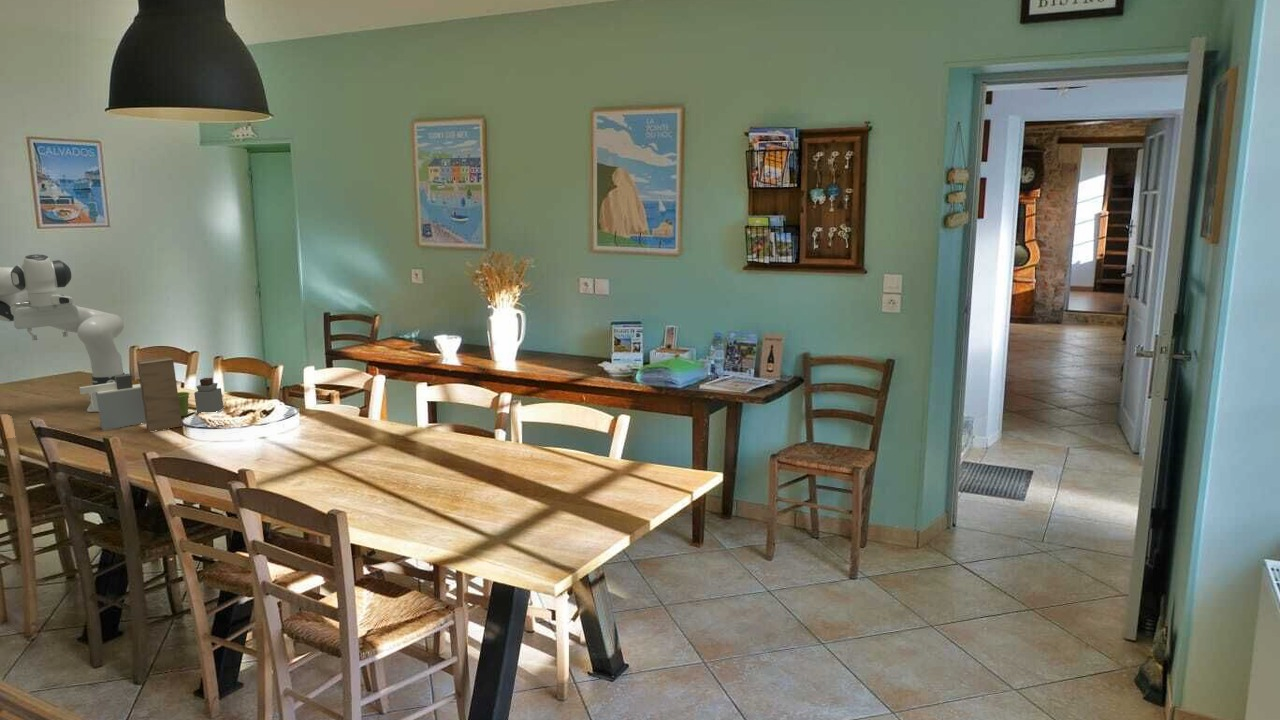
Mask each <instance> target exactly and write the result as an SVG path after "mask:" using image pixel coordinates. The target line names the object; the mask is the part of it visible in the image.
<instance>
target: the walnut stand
mask: <svg viewBox="0 0 1280 720" xmlns="http://www.w3.org/2000/svg"><path fill="white" fill-rule="evenodd" d="M136 365H137V372H138V378H139V384H140V386H141V393H142V400H143V407H144V414H145V420H146V424H145V426H146V429H147V428H148V429H147V431H148V432H149V431H155V430H161V431H164V430H163V429H167V430H169V429H168V428H171V427H173V426H177V425H179V424H181V422H182V416H181V413H180V406H179V399H178V392H179V391H178V386H177V385H178V384H177V377H176V371H175V364H174V359H173V358H172V357H170V356H164V357H158V358H157V357H155V358H149V359H148V358H147V359H142V360H141V359H140V360H136ZM182 423H183V422H182Z"/></svg>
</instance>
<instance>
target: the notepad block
mask: <svg viewBox="0 0 1280 720" xmlns="http://www.w3.org/2000/svg"><path fill="white" fill-rule="evenodd" d="M132 387H133V388H127V389H120V390H118V389H116V390H109V391H102V392H96V398H97V404H98V411H99V412H98V416H99V422H100V428H101V429H102V431H103V432H104V431H109V430H116V429H121V428H120V427H122V428H125V427H124V426H128V427H130V426H129V425H134V426H137V425H136V424H140V425H142V424H141V423H146V420H145V414H144V407H143V400H142V393H141V386H140V383H137V384H136V383H135V384H132Z"/></svg>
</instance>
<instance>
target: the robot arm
mask: <svg viewBox="0 0 1280 720" xmlns="http://www.w3.org/2000/svg"><path fill="white" fill-rule="evenodd" d="M71 280H72V271H71V268H70V267H69V265H68V264H66V263H65V262H63V261H62V260H59V259H57V260H52V261H51V259H50V257H49V256H48V255H45V254H35V253H34V254H29V255H25V257H24V258H23V262H22V263H20V264H17V265H15V266H14V267H13V266H12V267H11V266H0V321H2V322H13V325H14V328H15V329H17V330H24V329H25V330H26V332H27V333H28V334H29V335H30V336H31V339H32V341H38V335H37V334H33V332H32V331H33V328H45V327H52V328H54V329H58V330H61V331H62V337H63V338H65V337H66V338H67V337H69V333H77V337H78V339H79V340H80V341H81V342H82V343H83V344H84V347H85V349H86V351H87V354H88V357H89V359H90V360H89V361H90V366H91V371H92V372H91V373H92V377H91V382H92V385H98V384H106V383H113V382H115V377H114V375H122V374H126V373H125V371H124V367H123V362H122V355H121V353H120V352H119V350H118V349H117V347H116V345H115V342H114V339H115V338H118V336H119V335H120V334H121V333H122V332H123V330H124V326H125V325H124V321H123V319H122V318H121V317H120V315H117V314H116V313H110V312H105V311H101V310H97V309H92V308H89V307H88V308H87V307H82V306H79V305H76V304H74V298H73V297H72V296H69V295H64V294H59V293H58V289H59V288H65V287H66V286H68V284H69V283H70V282H71ZM57 288H58V289H57ZM88 399H89V400H90V402H89V405H88V407H87V409H86V412H87V413H90V412H93V413H94V412H97V413H99V411H98V404H97V398H96V392H95V393H88Z"/></svg>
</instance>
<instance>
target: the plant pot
mask: <svg viewBox="0 0 1280 720" xmlns="http://www.w3.org/2000/svg"><path fill="white" fill-rule="evenodd" d="M190 394H191V393H190V392H188V391H187V392H186V391H178V399H179V406H180V413H181V417H186V416H188V415H189V398H190ZM185 415H186V416H185Z"/></svg>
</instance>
